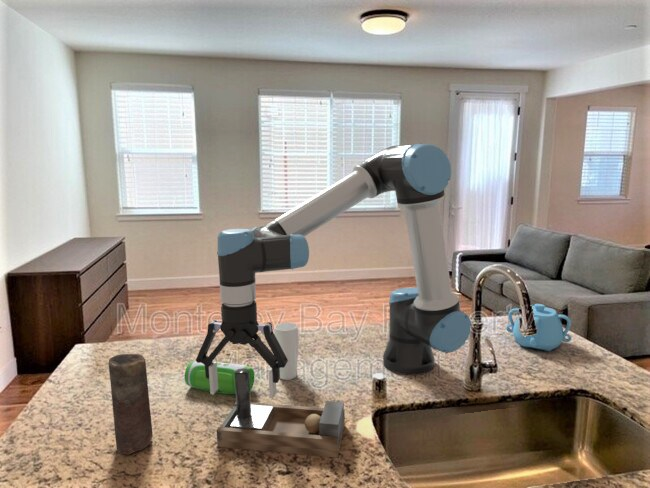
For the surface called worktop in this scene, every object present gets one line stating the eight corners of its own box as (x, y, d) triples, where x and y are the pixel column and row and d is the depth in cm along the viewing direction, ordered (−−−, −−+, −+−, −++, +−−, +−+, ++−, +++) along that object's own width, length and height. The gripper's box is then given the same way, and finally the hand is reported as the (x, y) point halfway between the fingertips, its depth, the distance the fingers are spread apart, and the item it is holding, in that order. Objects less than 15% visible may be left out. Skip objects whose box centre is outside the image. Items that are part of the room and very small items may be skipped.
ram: (273, 415, 106) (271, 364, 104) (262, 438, 98) (259, 382, 95) (244, 413, 107) (241, 362, 105) (230, 435, 99) (227, 380, 96)
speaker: (256, 387, 124) (255, 361, 123) (244, 400, 117) (243, 373, 116) (198, 380, 129) (197, 354, 127) (184, 392, 122) (182, 366, 121)
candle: (123, 435, 102) (115, 351, 99) (157, 433, 103) (150, 349, 99) (111, 457, 95) (101, 366, 91) (147, 454, 95) (139, 365, 92)
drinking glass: (296, 383, 126) (294, 331, 123) (272, 381, 127) (270, 329, 125) (302, 372, 132) (301, 322, 130) (279, 370, 134) (278, 321, 131)
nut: (303, 416, 102) (314, 429, 102) (299, 426, 98) (311, 440, 98) (316, 407, 101) (328, 420, 101) (313, 416, 97) (325, 431, 98)
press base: (344, 425, 105) (344, 399, 104) (337, 457, 94) (337, 428, 93) (237, 416, 110) (235, 391, 108) (217, 446, 98) (215, 418, 97)
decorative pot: (576, 353, 143) (579, 311, 141) (527, 355, 142) (530, 313, 139) (546, 334, 159) (549, 296, 157) (501, 336, 158) (504, 298, 155)
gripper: (299, 298, 99) (301, 388, 103) (191, 294, 103) (197, 381, 107) (291, 309, 92) (294, 406, 96) (175, 304, 96) (183, 398, 100)
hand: (243, 393), depth 102 cm, fingers open, 13 cm apart
